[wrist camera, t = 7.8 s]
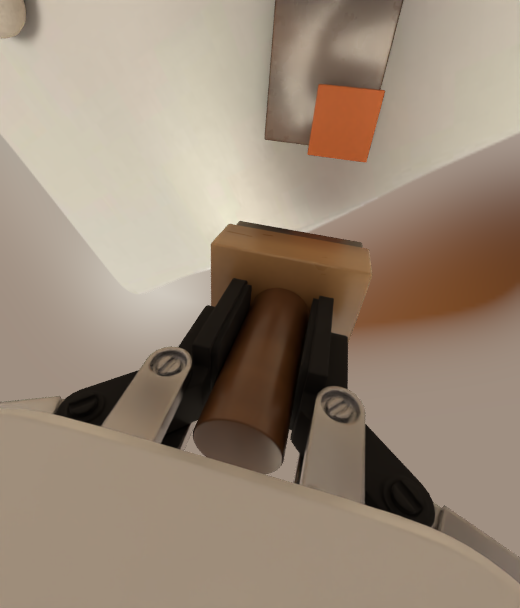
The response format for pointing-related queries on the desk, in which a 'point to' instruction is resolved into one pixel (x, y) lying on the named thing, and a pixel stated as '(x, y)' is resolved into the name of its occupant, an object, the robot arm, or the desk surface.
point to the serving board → (324, 56)
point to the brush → (273, 333)
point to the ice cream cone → (11, 17)
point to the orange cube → (344, 122)
